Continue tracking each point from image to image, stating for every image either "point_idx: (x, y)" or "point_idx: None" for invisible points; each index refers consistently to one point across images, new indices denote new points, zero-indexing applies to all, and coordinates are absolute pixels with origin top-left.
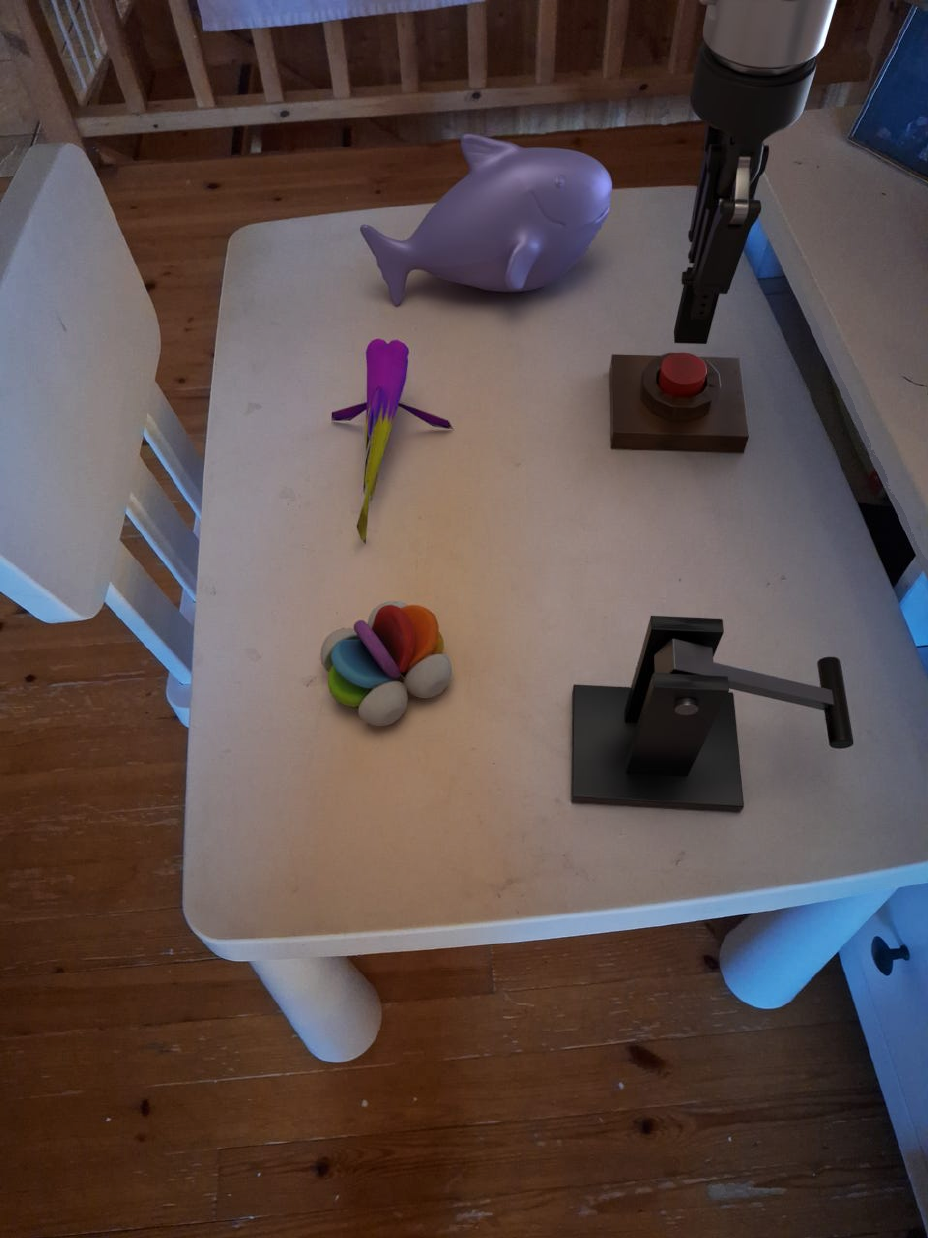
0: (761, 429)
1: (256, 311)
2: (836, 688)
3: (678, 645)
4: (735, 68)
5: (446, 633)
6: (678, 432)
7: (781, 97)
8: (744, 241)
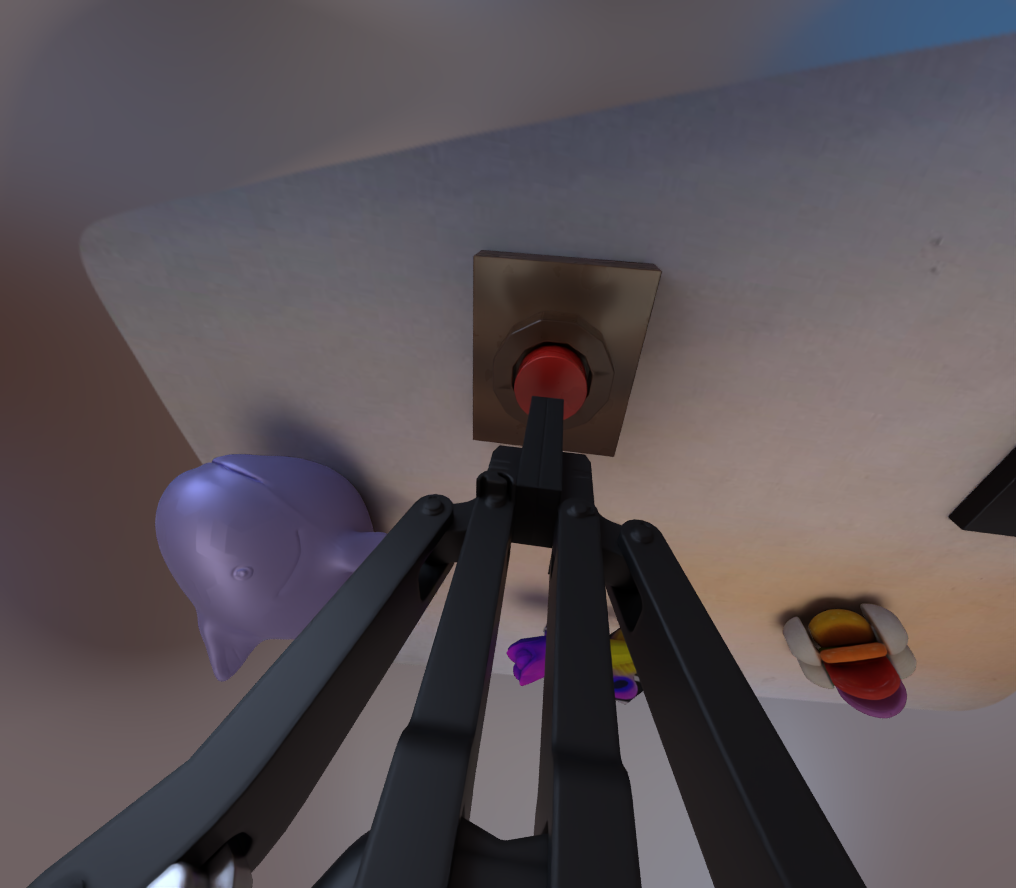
0: (607, 221)
1: (420, 655)
2: None
3: None
4: None
5: (810, 591)
6: (629, 379)
7: None
8: (798, 777)
